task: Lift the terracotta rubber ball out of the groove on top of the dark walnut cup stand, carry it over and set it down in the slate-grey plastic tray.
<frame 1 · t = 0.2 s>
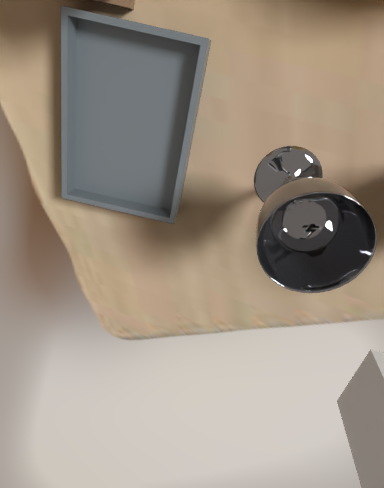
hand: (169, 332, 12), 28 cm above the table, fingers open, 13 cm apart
tray: (132, 124, 35), on the table
silver goblet: (287, 178, 36), on the table
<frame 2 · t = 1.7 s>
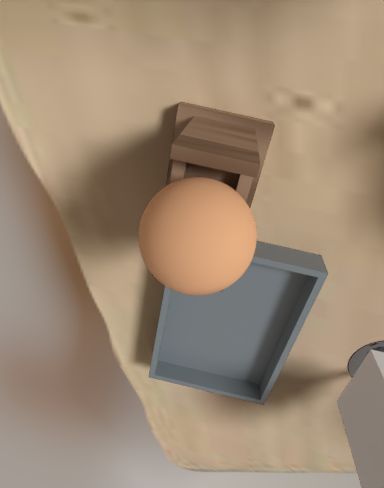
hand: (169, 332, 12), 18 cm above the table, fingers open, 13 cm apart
stand: (214, 169, 27), on the table
tray: (226, 313, 34), on the table
silver goblet: (383, 363, 35), on the table
ball: (203, 212, 20), point 9 cm above the table, touching stand
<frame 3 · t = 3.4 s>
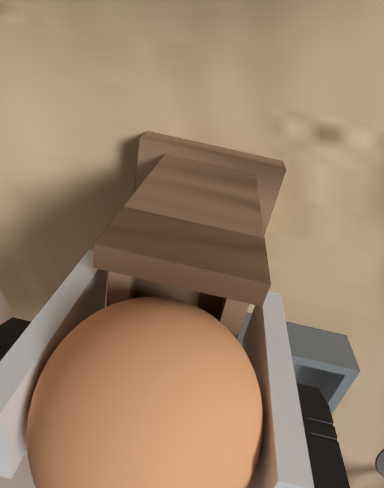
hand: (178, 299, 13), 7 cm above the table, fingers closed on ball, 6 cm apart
stand: (197, 224, 19), on the table
tray: (218, 398, 26), on the table
ball: (170, 330, 12), point 9 cm above the table, touching gripper, stand
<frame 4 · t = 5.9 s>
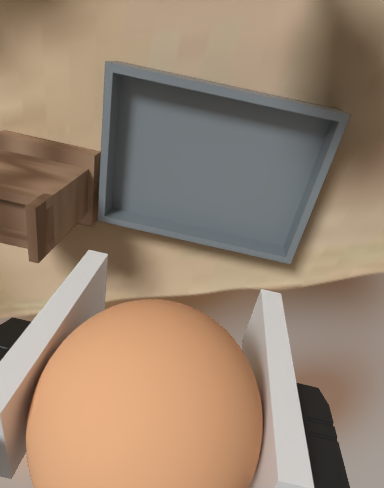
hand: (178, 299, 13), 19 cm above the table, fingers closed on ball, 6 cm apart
stand: (53, 177, 32), on the table
tray: (210, 164, 29), on the table
ball: (170, 332, 12), point 21 cm above the table, touching gripper
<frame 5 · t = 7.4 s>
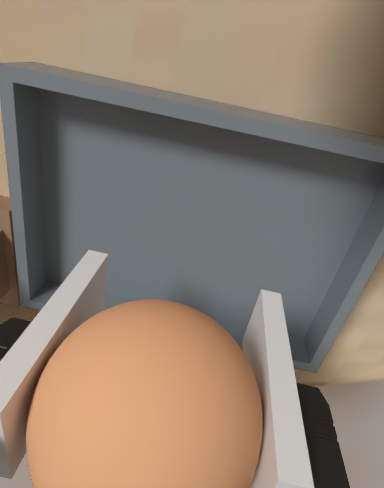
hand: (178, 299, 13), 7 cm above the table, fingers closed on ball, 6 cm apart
tray: (193, 223, 19), on the table
ball: (170, 332, 12), point 9 cm above the table, touching gripper
when the fingers open (2 cm above the table, at t = 8.6 s): ball drops 3 cm, resting on tray.
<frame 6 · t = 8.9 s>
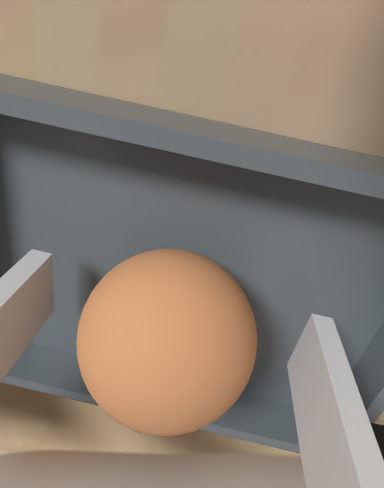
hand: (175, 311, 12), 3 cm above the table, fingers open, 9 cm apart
tray: (185, 273, 15), on the table
ball: (181, 284, 14), point 1 cm above the table, touching tray
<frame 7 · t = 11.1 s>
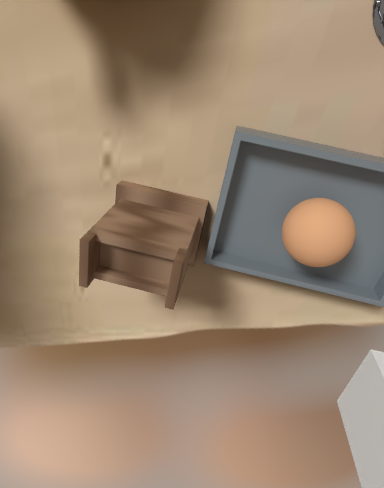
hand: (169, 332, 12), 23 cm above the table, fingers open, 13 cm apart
stand: (160, 221, 35), on the table
tray: (311, 214, 32), on the table
ball: (312, 218, 31), point 1 cm above the table, touching tray
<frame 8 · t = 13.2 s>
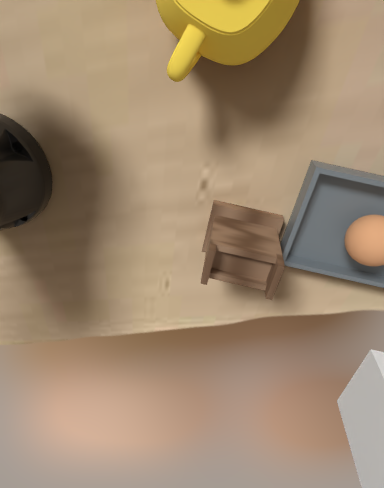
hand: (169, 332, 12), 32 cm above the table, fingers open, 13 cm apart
stand: (241, 231, 44), on the table
tray: (363, 225, 42), on the table
ball: (364, 229, 41), point 1 cm above the table, touching tray
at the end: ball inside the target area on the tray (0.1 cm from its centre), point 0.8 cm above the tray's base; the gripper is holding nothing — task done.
